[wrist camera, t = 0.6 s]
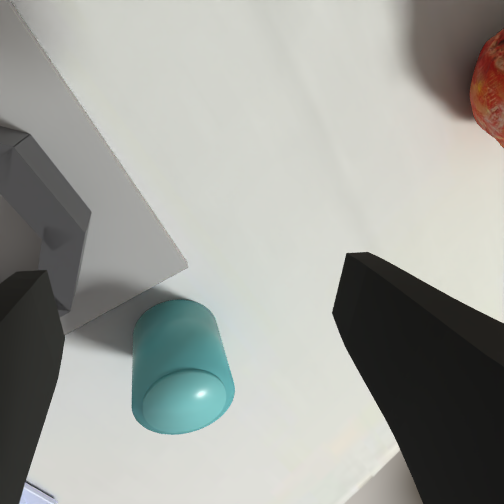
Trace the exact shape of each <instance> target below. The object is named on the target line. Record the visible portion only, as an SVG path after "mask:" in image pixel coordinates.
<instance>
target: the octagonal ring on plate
mask: <svg viewBox="0 0 504 504" xmlns="http://www.w3.org/2000/svg"><path fill="white" fill-rule="evenodd" d="M186 268H188V264H187V261H186V260H185V258H184V257H183V255H182V254H181V252H180V251H179V249H178V248H177V246H176V245H175V243H174V242H173V240H172V239H171V238H170V236H169V235H168V233H167V232H166V230H165V229H164V227H163V226H162V224H161V223H160V221H159V220H158V218H157V217H156V215H155V214H154V212H153V211H152V209H151V208H150V207H149V205H148V204H147V202H146V201H145V199H144V198H143V196H142V195H141V193H140V192H139V190H138V189H137V187H136V186H135V184H134V183H133V181H132V180H131V178H130V177H129V176H128V174H127V173H126V171H125V170H124V168H123V167H122V165H121V164H120V162H119V161H118V159H117V158H116V156H115V155H114V153H113V152H112V150H111V149H110V148H109V146H108V145H107V143H106V142H105V140H104V139H103V137H102V136H101V134H100V133H99V131H98V130H97V128H96V127H95V125H94V124H93V122H92V121H91V119H90V118H89V117H88V115H87V114H86V112H85V111H84V109H83V108H82V106H81V105H80V103H79V102H78V100H77V99H76V97H75V96H74V94H73V93H72V91H71V90H70V88H69V87H68V86H67V84H66V83H65V81H64V80H63V78H62V77H61V75H60V74H59V72H58V71H57V69H56V68H55V66H54V65H53V63H52V62H51V60H50V59H49V58H48V56H47V55H46V53H45V52H44V50H43V49H42V47H41V46H40V44H39V43H38V41H37V40H36V38H35V37H34V35H33V34H32V32H31V31H30V29H29V28H28V27H27V25H26V24H25V22H24V21H23V19H22V18H21V16H20V15H19V13H18V12H17V10H16V9H15V7H14V6H13V4H12V3H11V1H10V0H0V283H1V282H3V281H4V280H5V279H7V278H8V277H9V276H11V275H12V274H14V273H15V272H17V271H35V270H47V272H48V276H49V279H50V283H51V287H52V291H53V294H54V298H55V302H56V305H57V309H58V313H59V317H60V320H61V324H62V328H63V332H64V335H66V334H68V333H70V332H71V331H73V330H75V329H77V328H79V327H81V326H82V325H84V324H86V323H88V322H90V321H92V320H93V319H95V318H97V317H99V316H101V315H103V314H104V313H106V312H108V311H110V310H112V309H113V308H115V307H117V306H119V305H121V304H123V303H124V302H126V301H128V300H130V299H132V298H134V297H135V296H137V295H139V294H141V293H143V292H144V291H146V290H148V289H150V288H152V287H154V286H155V285H157V284H159V283H161V282H163V281H165V280H166V279H168V278H170V277H172V276H174V275H175V274H177V273H179V272H181V271H183V270H185V269H186Z"/></svg>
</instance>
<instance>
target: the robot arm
mask: <svg viewBox="0 0 504 504" xmlns="http://www.w3.org/2000/svg"><path fill="white" fill-rule="evenodd" d="M332 314H333V317H334V319H335V322H336V325H337V328H338V330H339V333H340V335H341V338H342V340H343V343H344V345H345V347H346V349H347V351H348V353H349V355H350V356H351V358H352V360H353V362H354V364H355V366H356V367H357V369H358V371H359V373H360V375H361V376H362V378H363V380H364V382H365V384H366V385H367V387H368V389H369V391H370V392H371V394H372V396H373V398H374V400H375V401H376V403H377V405H378V407H379V408H380V410H381V412H382V414H383V416H384V417H385V419H386V421H387V423H388V425H389V427H390V429H391V431H392V433H393V435H394V437H395V439H396V441H397V443H398V445H399V448H400V450H401V452H402V454H403V457H404V459H405V461H406V463H407V466H408V468H409V470H410V473H411V475H412V477H413V479H414V482H415V484H416V487H417V489H418V492H419V494H420V497H421V499H422V502H423V504H504V323H502V322H500V321H497V320H495V319H493V318H491V317H489V316H487V315H485V314H483V313H481V312H479V311H477V310H475V309H473V308H471V307H469V306H467V305H465V304H464V303H462V302H460V301H458V300H456V299H454V298H452V297H450V296H449V295H447V294H445V293H443V292H441V291H439V290H438V289H436V288H434V287H432V286H430V285H429V284H427V283H425V282H423V281H421V280H420V279H418V278H416V277H414V276H413V275H411V274H409V273H407V272H405V271H404V270H402V269H400V268H398V267H397V266H395V265H393V264H391V263H389V262H387V261H385V260H384V259H382V258H380V257H378V256H375V255H373V254H371V253H369V252H360V253H346V258H345V262H344V266H343V270H342V274H341V278H340V282H339V287H338V291H337V295H336V299H335V303H334V307H333V311H332ZM64 341H65V335H64V332H63V328H62V324H61V320H60V317H59V313H58V309H57V305H56V302H55V298H54V294H53V291H52V287H51V283H50V279H49V276H48V272H47V270H35V271H17V272H15V273H14V274H12V275H11V276H9V277H8V278H7V279H5V280H4V281H3V282H1V283H0V504H58V502H57V501H56V500H55V499H53V498H51V497H50V496H48V495H46V494H45V493H43V492H41V491H39V490H38V489H36V488H34V487H32V486H31V485H29V484H27V483H25V481H26V478H27V475H28V472H29V469H30V465H31V462H32V459H33V456H34V453H35V450H36V447H37V444H38V440H39V437H40V434H41V431H42V428H43V425H44V422H45V419H46V415H47V412H48V409H49V406H50V403H51V399H52V396H53V393H54V390H55V387H56V383H57V380H58V376H59V370H60V365H61V360H62V353H63V347H64Z"/></svg>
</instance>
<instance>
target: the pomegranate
mask: <svg viewBox="0 0 504 504" xmlns="http://www.w3.org/2000/svg"><path fill="white" fill-rule="evenodd" d="M470 102H471V107H472V111H473V115H474V118H475V120H476V122H477V124H478V125H479V126H480V127H481V128H482V129H483V130H485V131H486V132H487V133H488V134H490V135H491V136H492V137H494V138H495V139H496V140H497V141H498V142H499V143H500V145H501V146H502V147H503V148H504V29H502V30H501V31H500V32H498V33H497V34H496V35H495V36H494V37H492V38H491V39H489V40H488V41H487V42H486V43H485V45H484V46H483V48H482V50H481V52H480V55H479V57H478V60H477V63H476V65H475V69H474V73H473V77H472V81H471V87H470Z"/></svg>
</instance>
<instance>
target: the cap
mask: <svg viewBox="0 0 504 504" xmlns="http://www.w3.org/2000/svg"><path fill="white" fill-rule="evenodd" d="M234 393H235V386H234V382H233V378H232V375H231V371H230V368H229V364H228V361H227V357H226V354H225V350H224V347H223V343H222V340H221V337H220V333H219V330H218V326H217V323H216V320H215V317H214V316H213V314H212V313H211V311H210V310H209V309H207V308H206V307H205V306H203V305H202V304H199V303H197V302H194V301H190V300H170V301H166V302H163V303H160V304H157V305H155V306H153V307H152V308H150V309H149V310H147V311H146V312H145V313H144V314H143V315H142V316H141V317H140V319H139V320H138V321H137V323H136V325H135V328H134V332H133V365H132V412H133V415H134V417H135V418H136V420H137V421H138V422H139V423H140V424H141V425H142V426H143V427H145V428H147V429H148V430H151V431H153V432H157V433H161V434H172V435H173V434H184V433H189V432H193V431H196V430H199V429H201V428H204V427H206V426H208V425H210V424H211V423H213V422H214V421H216V420H217V419H219V418H220V417H221V416H222V415H223V414H224V413H225V412H226V411H227V409H228V408H229V406H230V405H231V403H232V401H233V398H234Z"/></svg>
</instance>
